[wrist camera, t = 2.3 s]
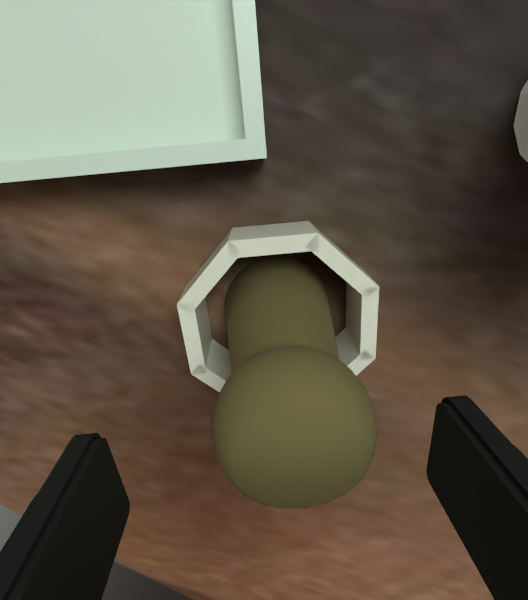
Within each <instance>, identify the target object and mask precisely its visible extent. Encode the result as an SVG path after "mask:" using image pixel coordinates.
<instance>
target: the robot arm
mask: <svg viewBox="0 0 528 600" xmlns="http://www.w3.org/2000/svg"><path fill="white" fill-rule="evenodd" d="M427 477H428V480H429V483H430V485H431V486H432V488H433V490H434V492H435V494H436V495H437V497H438V499H439V501H440V503H441V504H442V506H443V508H444V510H445V512H446V513H447V515H448V517H449V519H450V521H451V522H452V524H453V526H454V528H455V530H456V531H457V533H458V535H459V537H460V539H461V540H462V542H463V544H464V546H465V548H466V549H467V551H468V553H469V555H470V556H471V558H472V560H473V562H474V564H475V565H476V567H477V569H478V571H479V573H480V574H481V576H482V578H483V580H484V582H485V583H486V585H487V587H488V589H489V591H490V592H491V594H492V596H493V598H494V600H528V459H527V458H526V457H525V456H524V455H523V453H522V452H521V451H520V450H519V449H518V448H516V447H515V446H514V445H512V444H511V442H510V441H509V440H508V439H507V438H506V437H505V436H504V435H503V434H502V433H501V432H500V430H499V429H498V428H497V427H496V426H495V425H494V424H493V423H492V422H491V421H490V419H489V418H488V417H487V416H486V415H485V414H484V413H483V412H482V411H481V410H480V409H479V407H478V406H477V405H476V404H475V403H474V402H473V401H472V400H471V399H470V398H469V397H468V396H465V395H464V396H455V397H445V398H443V399H442V402H441V403H439V404H438V405H437V407H436V413H435V419H434V426H433V432H432V439H431V445H430V451H429V458H428V464H427ZM129 509H130V504H129V499H128V497H127V494H126V491H125V488H124V486H123V483H122V480H121V478H120V475H119V472H118V469H117V467H116V464H115V461H114V459H113V456H112V453H111V451H110V448H109V445H108V442H107V440H106V439H105V438H101V436H100V435H99V434H98V433H92V434H82V435H75V436H74V437H73V438H72V439H71V440H70V442H69V444H68V445H67V447H66V449H65V450H64V452H63V454H62V455H61V457H60V458H59V460H58V462H57V463H56V465H55V467H54V468H53V470H52V471H51V473H50V475H49V476H48V478H47V480H46V481H45V483H44V485H43V486H42V488H41V489H40V491H39V493H38V494H37V495H36V496H35V497H34V499H33V500H32V501H31V503H30V505H29V506H28V508H27V510H26V511H25V513H24V514H23V516H22V518H21V519H20V521H19V523H18V524H17V526H16V528H15V529H14V531H13V532H12V534H11V536H10V537H9V539H8V540H7V542H6V544H5V545H4V547H3V549H2V550H1V552H0V600H101V598H102V595H103V592H104V589H105V586H106V583H107V580H108V577H109V574H110V571H111V568H112V564H113V562H114V558H115V555H116V552H117V549H118V546H119V543H120V540H121V537H122V534H123V531H124V528H125V525H126V521H127V518H128V515H129Z"/></svg>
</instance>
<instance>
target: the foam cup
mask: <svg viewBox="0 0 528 600" xmlns="http://www.w3.org/2000/svg"><path fill="white" fill-rule="evenodd" d="M513 127H514V131H515V135H516V140H517V144H518V149H519V153H520V155H521V156H522V157H523V158H524V159H525V160H526V161H527V162H528V80H527V82H526V84H525V85H524V87H523V88H522V90H521V92H520V97H519V102H518V106H517V111H516V116H515V121H514V125H513Z"/></svg>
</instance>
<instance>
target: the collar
mask: <svg viewBox="0 0 528 600" xmlns="http://www.w3.org/2000/svg"><path fill="white" fill-rule="evenodd" d="M309 251H312V252H313V253H314V254H315V255H316V256H317V257H318V258H320V259H321V260H322V261H323V262H324V263H325V264H327V265H328V266H329V267H330V268H331V269H332V270H334V271H335V272H336V273H337V274H338V275H339V276H341V277H342V278H343V279H344V280H345V281H346V327H345V328H344V329H343V330H342V331H341V332H340V333H339V334H338V335H337V336H336V337H335V338H336V344H337V349H338V355H339V360H340V361H341V362H343V363H344V364H345V365H346V366H347V367H349V368H350V369H351V370H352V371H353V373H354V374H355V375H358V374H359V373H360V372H361V371H362V370H363V369H364V368H365V367H367V366H368V365H369V364H370V363H371V362H372V361H373V360H374V359H375V357H376V338H377V320H378V301H379V286H378V285H377V284H376V283H375V282H374V281H373V280H372V279H371V278H370V276H369V275H368V274H367V273H366V272H365V271H364V270H363V269H362V268H361V267H360V266H358V265H357V264H356V263H355V262H354V261H353V260H352V259H351V258H349V257H348V256H347V255H346V254H345V253H344V252H343V251H342V250H340V249H339V248H338V247H337V246H336V245H335V244H334V243H333V242H332V241H330V240H329V239H328V238H327V237H326V236H325V235H324V234H323V233H321V232H320V231H319V230H318V229H317V228H316V227H315V226H314V225H312V224H311V223H310V222H309V221H302V222H291V223H280V224H269V225H258V226H247V227H236V228H232V229H231V230H230V232H229V233H228V234H227V235H226V237H225V238H224V239H223V240H222V242H221V243H220V244H219V245H218V247H217V248H216V249H215V250H214V252H213V253H212V254H211V255H210V257H209V258H208V259H207V260H206V262H205V263H204V264H203V265H202V267H201V268H200V269H199V270H198V272H197V273H196V274H195V275H194V277H193V278H192V279H191V280H190V282H189V283H188V284H187V286H186V288H185V290H184V292H183V294H182V296H181V297H180V299H179V301H178V303H177V308H178V313H179V318H180V323H181V328H182V333H183V338H184V342H185V347H186V352H187V357H188V362H189V367H190V372H191V374H192V375H193V376H195V377H196V378H198V379H199V380H201V381H202V382H204V383H206V384H207V385H209V386H210V387H212V388H213V389H215V390H217V391H218V392H220V391H221V389H222V387H223V386H224V384H225V382H226V381H227V379H228V378H229V377H230V376H231V374H232V373H231V364H230V354H229V350H228V349H227V348H225V347H224V346H222V345H221V344H219V343H218V342H216V341H215V340H214V339H212V334H211V328H210V322H209V316H208V310H207V304H206V298H205V297H206V295H207V294H208V293H209V292H210V291H211V289H212V288H213V287H214V286H215V285H216V283H217V282H218V281H219V280H220V279H221V277H222V276H223V275H224V274H225V273H226V271H227V270H228V269H229V268H230V267H231V265H232V264H233V263H234V262H235V261H236V259H237V258H242V257H253V256H264V255H275V254H286V253H298V252H309Z"/></svg>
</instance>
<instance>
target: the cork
mask: <svg viewBox="0 0 528 600" xmlns="http://www.w3.org/2000/svg"><path fill="white" fill-rule="evenodd" d="M225 314H226V325H227V334H228V344H229V354H230V364H231V373H232V374H231V376H230V377H229V378H228V379H227V381H226V382H225V384H224V386H223V387H222V389H221V391H220V394H219V397H218V400H217V403H216V406H215V409H214V414H213V419H212V431H213V443H214V449H215V455H216V457H217V459H218V461H219V463H220V465H221V467H222V469H223V471H224V473H225V474H226V476H227V477H228V479H229V480H230V482H231V483H232V484H233V485H234V486H235V487H236V488H237V489H238V490H239V491H241V492H242V493H243V494H244V495H245V496H247V497H249V498H251V499H253V500H255V501H257V502H260V503H262V504H265V505H270V506H275V507H280V508H308V507H312V506H316V505H320V504H324V503H328V502H330V501H332V500H334V499H336V498H338V497H340V496H342V495H344V494H346V493H347V492H348V491H349V490H350V489H352V488H353V487H354V486H355V485H356V484H357V483H358V482H360V481H361V479H362V478H363V476H364V474H365V473H366V471H367V469H368V468H369V466H370V464H371V461H372V458H373V455H374V451H375V445H376V440H377V434H378V433H377V425H376V418H375V414H374V410H373V406H372V402H371V399H370V397H369V395H368V393H367V391H366V389H365V387H364V386H363V385H362V383H361V382H360V381H359V379H358V378H357V377H356V375H355V374H354V373H353V371H352V370H351V369H350V368H349V367H347V366H346V365H345V364H344V363H343V362H341V361H340V360H339V355H338V349H337V344H336V338H335V332H334V326H333V321H332V315H331V309H330V303H329V298H328V295H327V291H326V287H325V284H324V283H323V282H322V280H321V279H320V277H319V276H318V274H317V273H316V272H315V271H314V270H312V269H311V268H309V267H308V266H307V265H305V264H304V263H302V262H299V261H296V260H293V259H289V258H266V259H263V260H260V261H257V262H254V263H252V264H250V265H249V266H248V267H246V268H245V269H243V270H242V271H241V272H239V273H238V274H237V276H236V277H235V279H234V280H233V281H232V283H231V284H230V286H229V288H228V292H227V295H226V298H225Z"/></svg>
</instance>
